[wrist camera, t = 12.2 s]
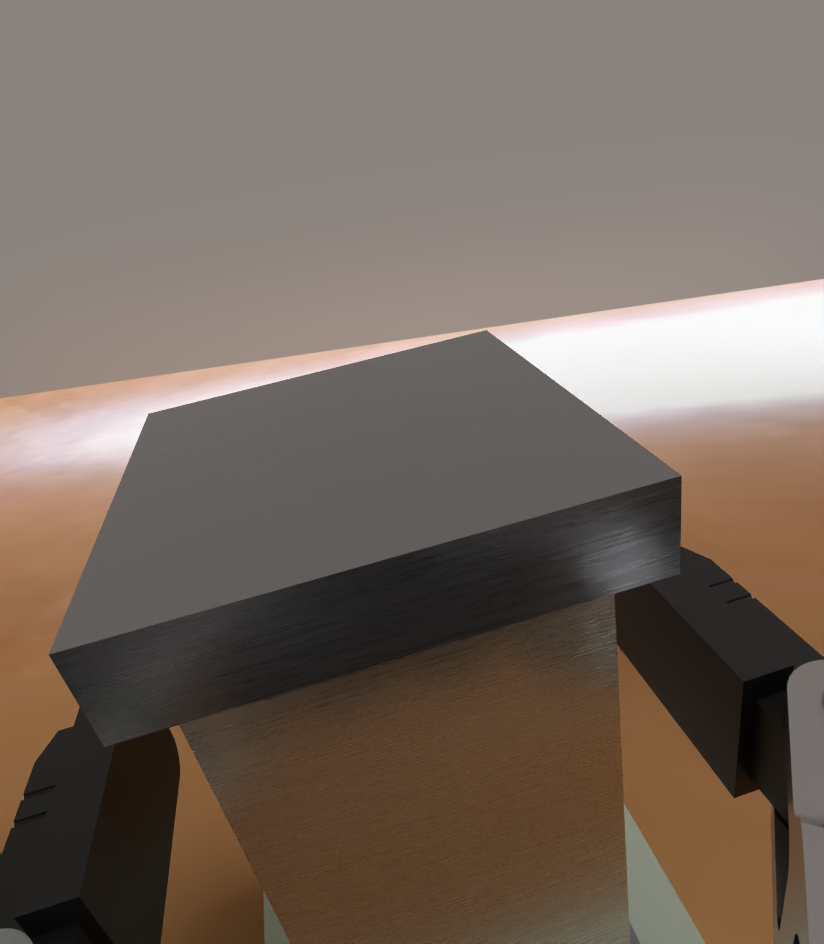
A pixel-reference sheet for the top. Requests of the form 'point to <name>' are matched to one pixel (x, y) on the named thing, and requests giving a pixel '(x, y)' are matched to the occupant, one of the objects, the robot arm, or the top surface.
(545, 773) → the grey square pedestal
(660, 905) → the green stand
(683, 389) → the top surface
